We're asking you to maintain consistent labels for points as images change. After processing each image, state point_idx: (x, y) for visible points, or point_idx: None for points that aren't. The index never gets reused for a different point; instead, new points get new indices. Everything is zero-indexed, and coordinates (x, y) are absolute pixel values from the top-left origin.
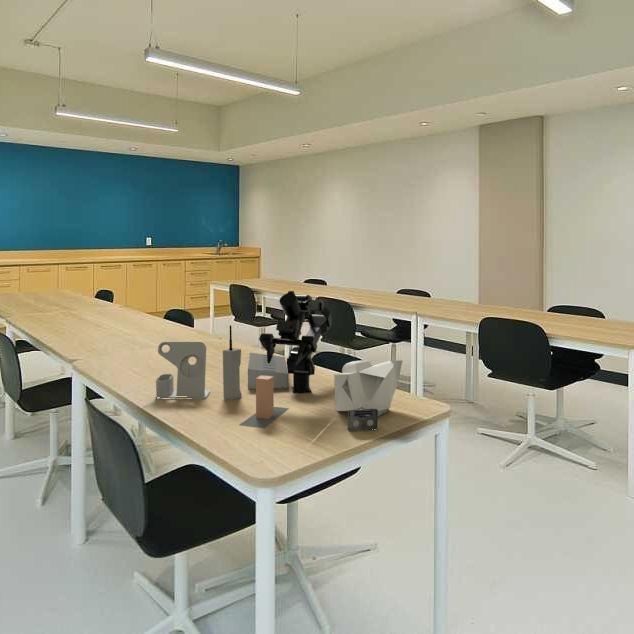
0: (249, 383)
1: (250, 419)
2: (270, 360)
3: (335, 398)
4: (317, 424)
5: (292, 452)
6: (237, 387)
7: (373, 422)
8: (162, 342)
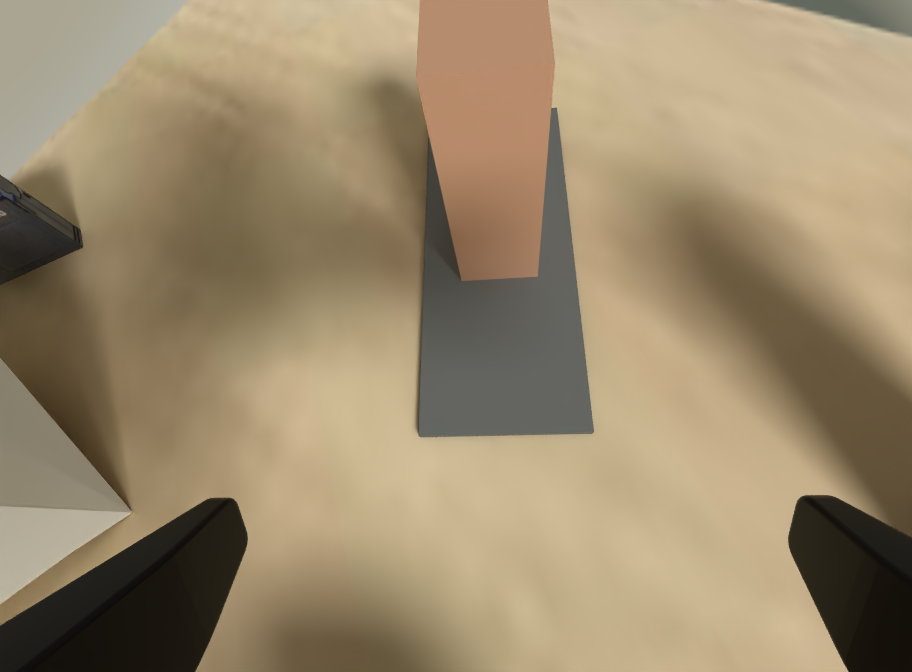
0: None
1: (546, 182)
2: (841, 629)
3: (52, 507)
4: (216, 258)
5: (267, 13)
6: None
7: None
8: None
